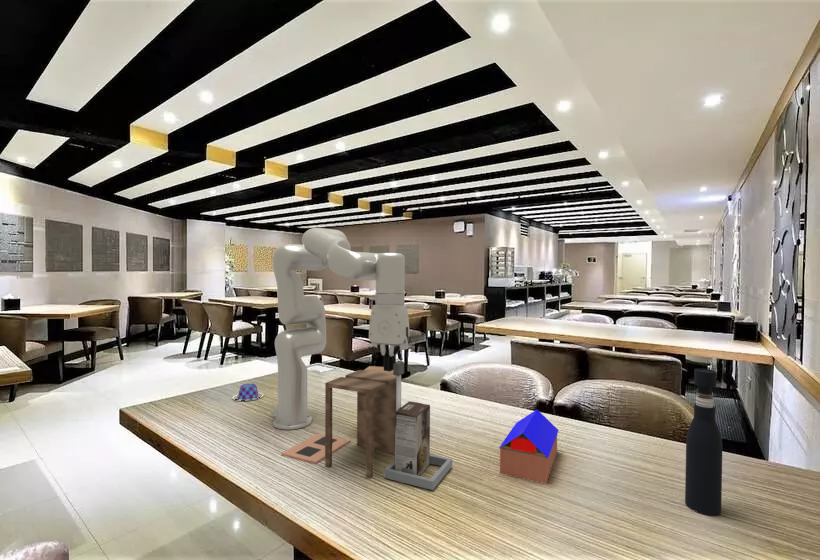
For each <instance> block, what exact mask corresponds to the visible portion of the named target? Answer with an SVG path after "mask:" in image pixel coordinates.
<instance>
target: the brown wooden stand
mask: <svg viewBox="0 0 820 560" xmlns="http://www.w3.org/2000/svg"><path fill="white" fill-rule="evenodd" d="M324 385H325V386H324V387H325V393H324V394H325V395H324V396H325V397H324V399H325V401H324V402H325V404H324V408H325V409H324V412H325V414H324V416H325V417H324V419H325V420H324V423H325V424H324V425H325V427H324V430H325V431H324V432H325V433H324V434H325V459H324V467H326V468H328V469H330V468H332V467H333V454H332V436H333V389H338V390H344V391H349V392H351V391H352V392H356V393H357V394H356V395H357V396H356V397H357V398H356V402H357V403H356V445H357V446H359V447H364V448H365V478H367V479H371V480H372V479H373V478H374V450H376V451H382V452H386V453H390V454H394V455H395V417H396V413H395V412H396V375H393V374H386V373H379V372H371V371H364V369H357V370H355V371H353V372H350V373H348V374H345V376H339V377H337V378H335V379H332V380H329V381H327V382H325V384H324Z"/></svg>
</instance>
